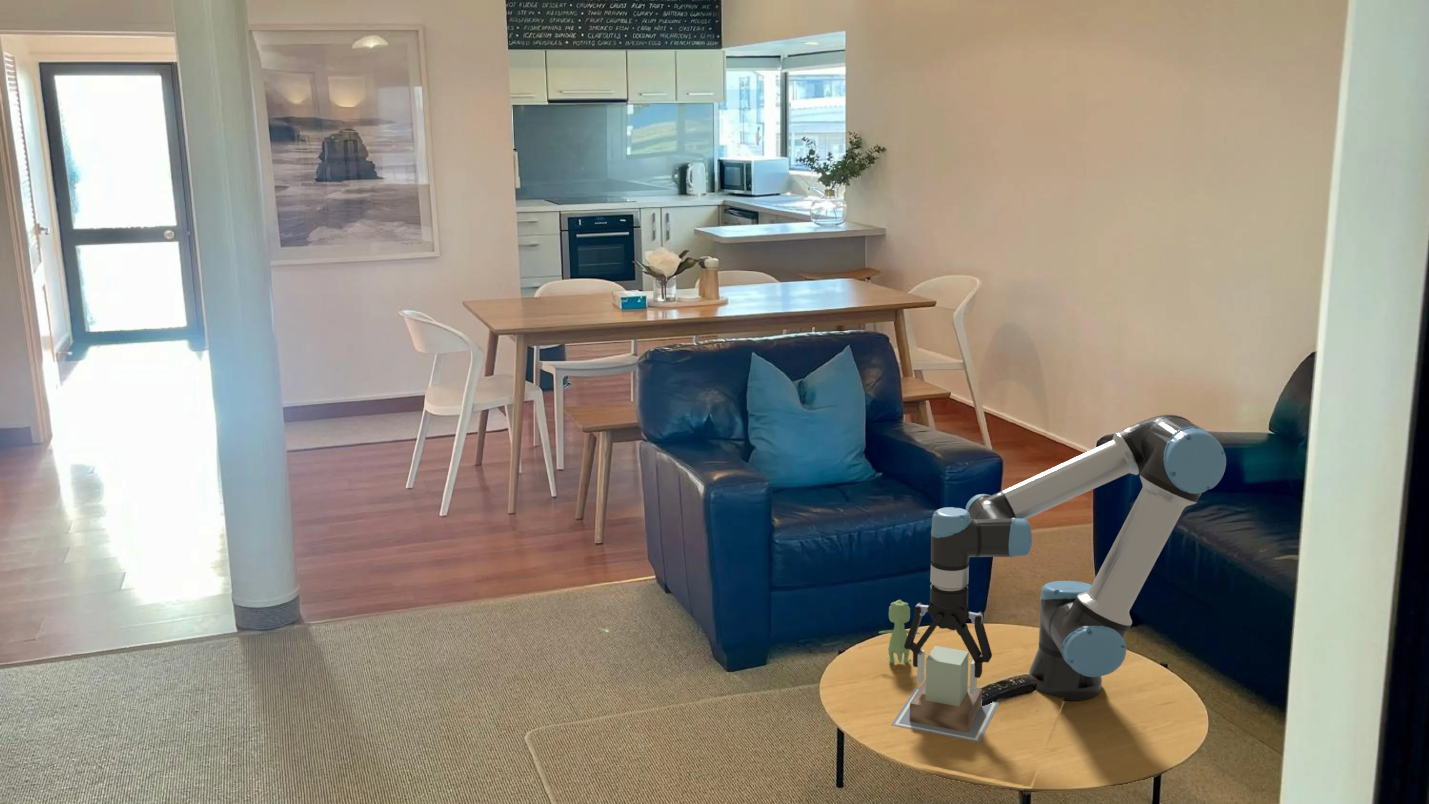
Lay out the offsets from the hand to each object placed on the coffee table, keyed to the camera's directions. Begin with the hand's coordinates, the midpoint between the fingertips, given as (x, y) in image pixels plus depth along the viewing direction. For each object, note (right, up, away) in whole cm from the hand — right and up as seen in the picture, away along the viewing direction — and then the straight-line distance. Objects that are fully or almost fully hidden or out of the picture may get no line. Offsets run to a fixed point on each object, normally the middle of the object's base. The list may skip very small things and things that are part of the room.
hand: (946, 686), depth 241 cm
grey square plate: (0, -7, +1) cm, 7 cm away
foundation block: (0, -6, +1) cm, 6 cm away
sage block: (0, -2, 0) cm, 2 cm away
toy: (-6, -1, +26) cm, 27 cm away
